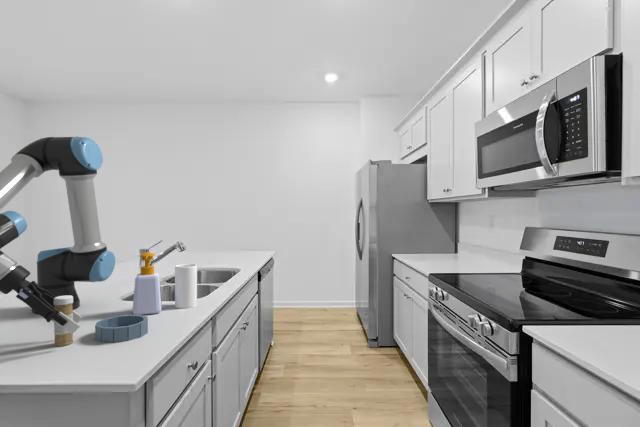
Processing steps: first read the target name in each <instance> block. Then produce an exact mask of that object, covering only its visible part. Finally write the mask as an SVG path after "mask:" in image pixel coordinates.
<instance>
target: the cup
mask: <svg viewBox="0 0 640 427" xmlns="http://www.w3.org/2000/svg"><path fill="white" fill-rule="evenodd" d="M197 306H198V265H197V264H196V263H195V264H194V263H185V264H177V265H175V266H174V307H175V308H176V309H190V308H194V307H197Z"/></svg>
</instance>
